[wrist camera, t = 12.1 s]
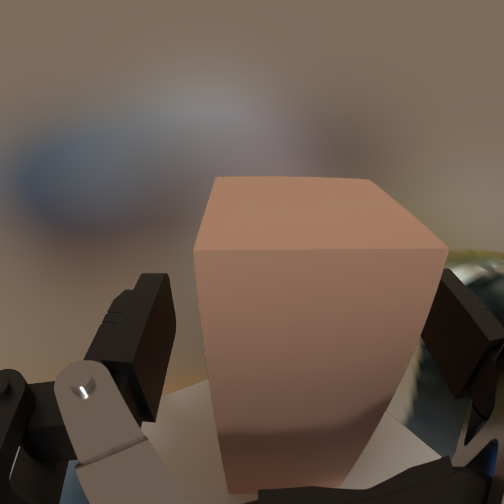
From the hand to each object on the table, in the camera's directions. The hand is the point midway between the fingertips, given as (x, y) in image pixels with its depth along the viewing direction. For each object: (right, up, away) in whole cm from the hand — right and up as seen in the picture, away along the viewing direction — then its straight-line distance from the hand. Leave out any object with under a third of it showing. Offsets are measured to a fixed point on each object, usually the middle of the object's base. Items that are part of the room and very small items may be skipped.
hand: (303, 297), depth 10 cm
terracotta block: (0, -8, +4) cm, 9 cm away
